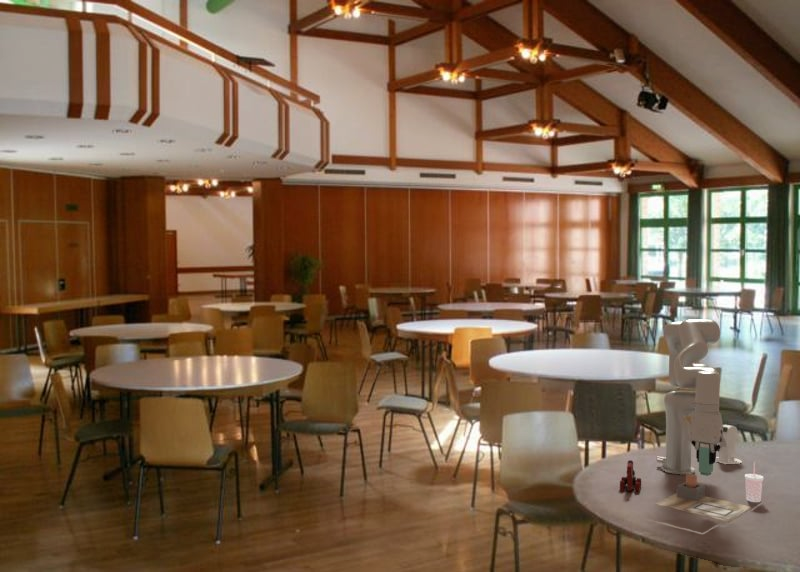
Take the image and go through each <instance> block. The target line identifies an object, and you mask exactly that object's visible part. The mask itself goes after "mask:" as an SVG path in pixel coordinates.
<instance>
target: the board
mask: <svg viewBox="0 0 800 572" xmlns="http://www.w3.org/2000/svg"><path fill="white" fill-rule="evenodd" d="M654 505H658V506H660V507H661V506H662V507H665V508H670V509H675V510H679V511H682V512H686V513H691V514H695V515H699V516H703V517H704V516H705V517H708V518H712V519H716V520H720V521H724V522H727V524H729V523H730V521H732V520H733V519H735V518H737V517H738V516H742V515H743V513H747V512H748V510H750V509H751V508H752V506H750V505H746V504H740V503H736V502H732V501H728V500H724V499H720V498H719V499H718V498H714V497H710V496H706V495H705V497H704V498H702V499H700V500H698V501H693V500H688V499H684V498H680V497H677V492H676V493H674V494H672V495H670V496H669V497H666V498H664V499H662V500H660V501H658V502H656V503H654Z"/></svg>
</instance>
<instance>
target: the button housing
mask: <svg viewBox="0 0 800 572" xmlns="http://www.w3.org/2000/svg"><path fill="white" fill-rule="evenodd" d="M676 493H677V497H680V498H684V499H688V500H693V501H698V500H700V499H702V498H704V497H705V496H706V485H704V484H700V483H699V484H698V483H697V487H696V488H691V487H686V481H684V482H682V483H680V484H678V485H677V486H676Z"/></svg>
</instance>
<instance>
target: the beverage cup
mask: <svg viewBox="0 0 800 572" xmlns="http://www.w3.org/2000/svg"><path fill="white" fill-rule="evenodd" d="M752 471H753V473H745V474H744V479H745V481H744V482H745V499H746V500H747V501H748V502H752V503H760V502H761V499H762V492H763V482H764V476H763V475H760V474H757V473H756V461H753V470H752Z"/></svg>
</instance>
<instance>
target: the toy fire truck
mask: <svg viewBox="0 0 800 572" xmlns="http://www.w3.org/2000/svg"><path fill="white" fill-rule="evenodd" d="M626 464H627V465H626V466H627V467H626V476H621V480H620V481H619V491H620V492H625V489H627V491H633V490H634V493H635V494H637V493H638V494H639V493H641V492H640V491H641V489H642V478H639V477H636V476H635V475H636V471H635V470H634V461H633V460H628V461H627V463H626Z"/></svg>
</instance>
